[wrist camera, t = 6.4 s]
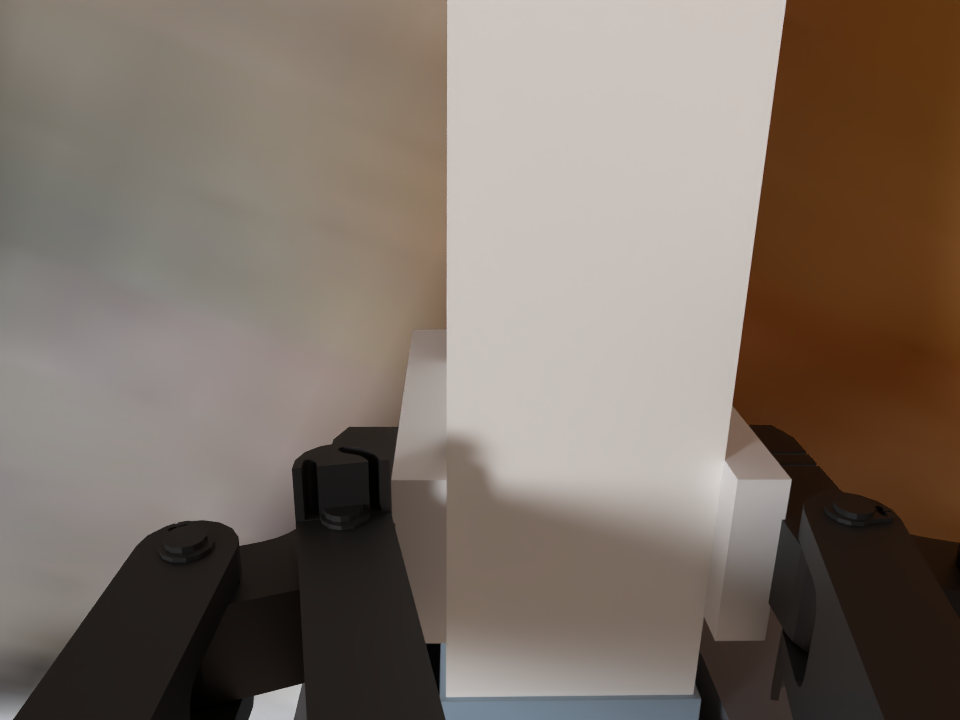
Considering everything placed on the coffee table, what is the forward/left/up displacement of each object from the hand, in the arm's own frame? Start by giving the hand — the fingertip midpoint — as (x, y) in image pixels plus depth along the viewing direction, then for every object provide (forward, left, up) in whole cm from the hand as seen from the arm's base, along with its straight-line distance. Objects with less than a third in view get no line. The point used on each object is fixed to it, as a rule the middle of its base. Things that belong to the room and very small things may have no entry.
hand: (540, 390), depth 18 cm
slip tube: (-3, +2, +2) cm, 4 cm away
